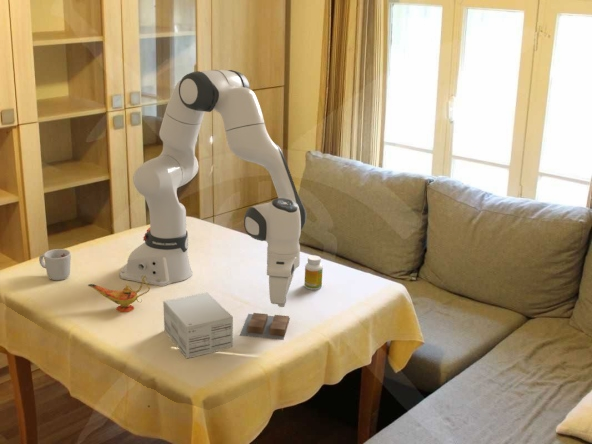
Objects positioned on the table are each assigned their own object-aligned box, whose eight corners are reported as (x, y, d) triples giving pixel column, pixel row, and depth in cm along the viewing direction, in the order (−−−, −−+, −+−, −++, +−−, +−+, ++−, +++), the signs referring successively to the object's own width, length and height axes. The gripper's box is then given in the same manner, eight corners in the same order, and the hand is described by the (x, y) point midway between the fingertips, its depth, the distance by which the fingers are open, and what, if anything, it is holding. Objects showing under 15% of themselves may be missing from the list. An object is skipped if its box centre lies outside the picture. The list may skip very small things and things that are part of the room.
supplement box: (233, 348, 197) (234, 316, 194) (186, 359, 191) (186, 327, 187) (208, 321, 211) (208, 290, 207) (163, 331, 204) (162, 299, 201)
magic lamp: (93, 300, 220) (91, 266, 216) (153, 305, 218) (152, 270, 215) (85, 311, 213) (82, 275, 210) (147, 315, 212) (145, 280, 208)
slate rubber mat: (239, 336, 202) (239, 335, 202) (248, 315, 215) (248, 313, 214) (283, 341, 201) (283, 339, 201) (290, 318, 213) (290, 317, 213)
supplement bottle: (320, 291, 231) (321, 262, 228) (302, 289, 232) (304, 260, 229) (323, 284, 236) (324, 255, 233) (306, 282, 237) (307, 253, 234)
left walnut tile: (253, 319, 211) (248, 332, 204) (253, 312, 211) (248, 326, 203) (267, 320, 211) (262, 334, 203) (267, 314, 210) (262, 327, 203)
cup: (32, 277, 233) (30, 254, 230) (49, 268, 240) (47, 245, 237) (61, 284, 229) (59, 260, 227) (77, 274, 236) (76, 251, 234)
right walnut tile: (274, 321, 211) (269, 334, 203) (274, 314, 210) (270, 328, 202) (288, 322, 210) (284, 336, 203) (288, 316, 209) (284, 329, 202)
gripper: (277, 243, 213) (276, 288, 218) (265, 272, 194) (264, 320, 199) (299, 245, 212) (298, 290, 217) (289, 274, 193) (288, 322, 198)
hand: (282, 304), depth 208 cm, fingers closed
